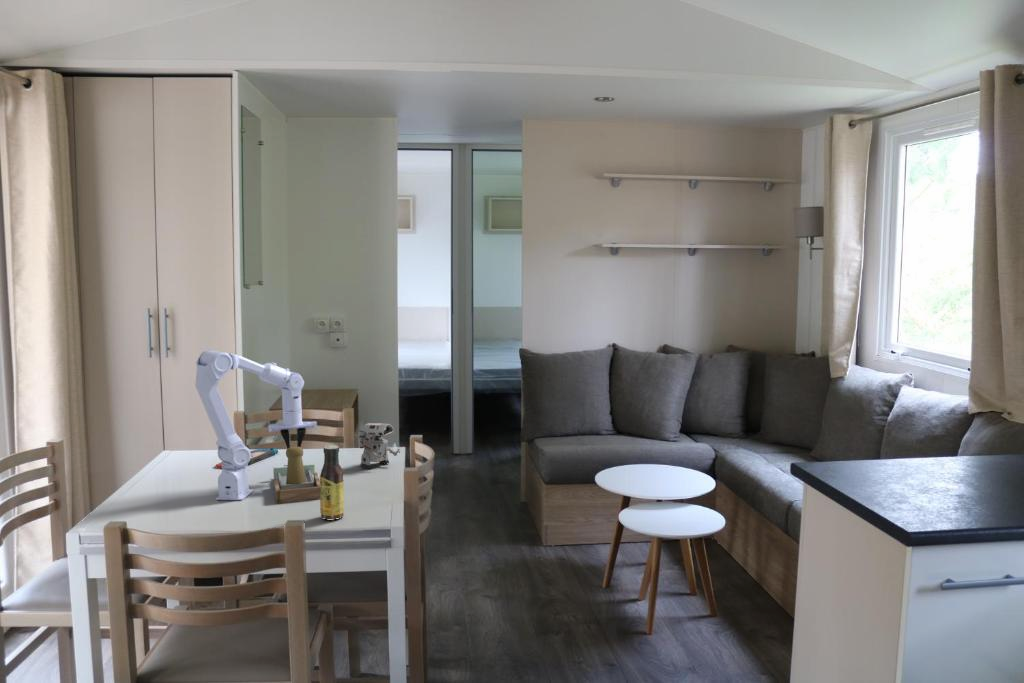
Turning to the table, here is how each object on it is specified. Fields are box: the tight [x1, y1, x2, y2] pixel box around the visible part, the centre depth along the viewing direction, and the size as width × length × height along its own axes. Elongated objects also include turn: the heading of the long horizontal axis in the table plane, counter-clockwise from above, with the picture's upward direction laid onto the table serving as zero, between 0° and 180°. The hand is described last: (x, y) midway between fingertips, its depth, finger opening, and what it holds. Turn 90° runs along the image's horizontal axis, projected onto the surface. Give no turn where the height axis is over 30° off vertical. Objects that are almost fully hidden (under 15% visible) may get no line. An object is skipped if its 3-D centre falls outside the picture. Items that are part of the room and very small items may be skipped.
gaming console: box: [215, 447, 279, 469], centre depth 276 cm, size 24×3×10 cm
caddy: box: [273, 472, 320, 504], centre depth 237 cm, size 17×13×4 cm
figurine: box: [359, 422, 401, 470], centre depth 265 cm, size 9×12×15 cm
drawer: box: [272, 463, 316, 490], centre depth 246 cm, size 19×13×3 cm, turn 19°
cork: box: [285, 446, 306, 484], centre depth 240 cm, size 6×6×11 cm
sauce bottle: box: [319, 444, 345, 519], centre depth 213 cm, size 6×6×20 cm
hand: (293, 452), depth 248 cm, fingers closed
